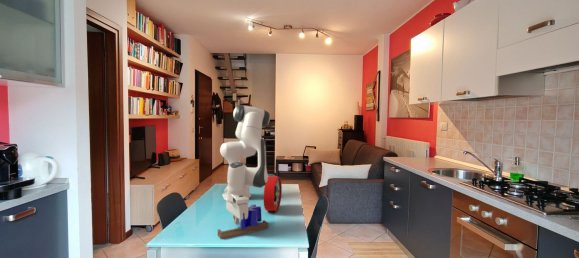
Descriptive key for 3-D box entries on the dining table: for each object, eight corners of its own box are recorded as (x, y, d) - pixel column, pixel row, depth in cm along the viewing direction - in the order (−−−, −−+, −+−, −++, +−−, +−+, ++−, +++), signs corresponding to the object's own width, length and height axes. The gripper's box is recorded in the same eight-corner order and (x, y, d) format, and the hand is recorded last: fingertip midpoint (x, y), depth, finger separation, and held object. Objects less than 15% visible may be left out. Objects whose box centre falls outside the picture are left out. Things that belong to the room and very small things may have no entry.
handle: (217, 236, 129) (217, 227, 129) (264, 226, 142) (264, 218, 142) (220, 239, 125) (220, 230, 125) (268, 228, 138) (268, 220, 138)
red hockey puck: (273, 216, 157) (273, 180, 156) (263, 215, 158) (263, 179, 157) (281, 205, 176) (281, 173, 176) (272, 204, 178) (272, 173, 177)
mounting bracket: (241, 228, 130) (253, 228, 129) (240, 213, 130) (252, 213, 129) (253, 218, 148) (264, 218, 146) (252, 204, 148) (263, 204, 147)
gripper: (223, 192, 146) (222, 218, 146) (238, 201, 128) (237, 231, 129) (234, 190, 149) (234, 216, 149) (250, 199, 132) (250, 229, 132)
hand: (236, 223), depth 139 cm, fingers closed
